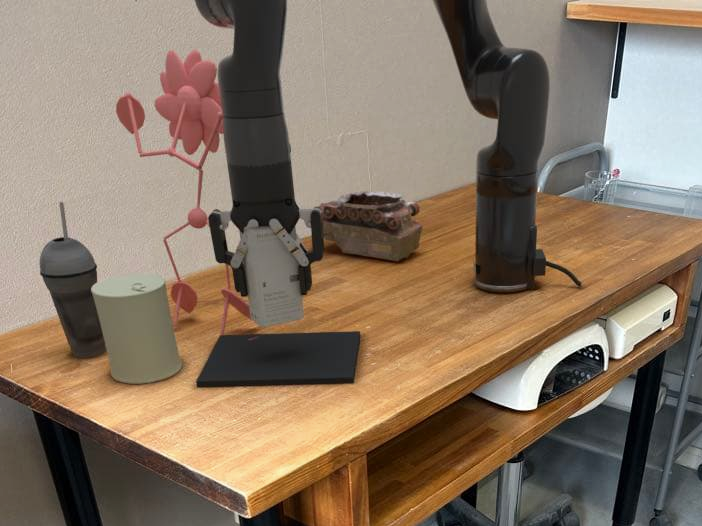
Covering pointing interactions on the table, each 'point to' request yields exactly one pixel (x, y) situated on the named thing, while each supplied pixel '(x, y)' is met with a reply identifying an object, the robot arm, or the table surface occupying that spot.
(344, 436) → the table surface
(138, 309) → the can
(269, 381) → the mat
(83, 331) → the beverage cup
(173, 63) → the figurine
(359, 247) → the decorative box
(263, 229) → the cosmetic box
